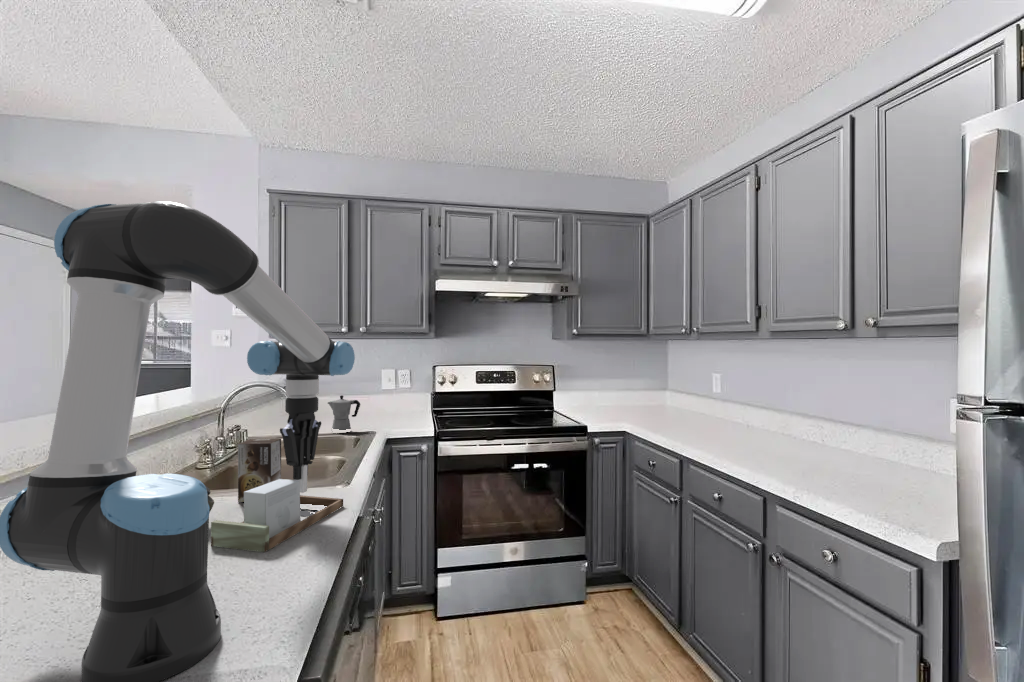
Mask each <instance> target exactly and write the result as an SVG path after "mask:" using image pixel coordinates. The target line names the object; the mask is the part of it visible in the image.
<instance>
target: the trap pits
mask: <svg viewBox="0 0 1024 682" xmlns="http://www.w3.org/2000/svg"><path fill="white" fill-rule="evenodd" d="M300 509H301V508H300ZM308 511H309V510H307V511H300V517H306V516H311V515H313V513H311V514H310V512H308ZM312 512H313V511H312ZM316 512H318V511H315V513H316Z"/></svg>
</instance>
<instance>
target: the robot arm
mask: <svg viewBox="0 0 1024 682" xmlns="http://www.w3.org/2000/svg"><path fill="white" fill-rule="evenodd" d="M53 239H54V240H53V247H54V250H55V251H54V252H55V254H56V257H57V258H59V259H60V260H61V263H60V264H61V265H62V266H63V268H65V270H66V271H67V277H66V283H67V284H68V285H69V286H70V287H71V289H73V290H74V291H75V292H76V294H77V300H76V307H75V312H74V318H73V323H72V328H71V334H70V339H69V343H68V351H67V355H66V360H65V366H64V370H63V376H62V382H61V386H60V392H59V397H58V398H59V399H58V401H57V402H58V403H57V409H56V413H55V414H56V415H55V420H54V425H53V429H52V430H53V431H52V436H51V439H50V440H51V441H50V447H49V452H48V457H47V459H46V460H45V461H44V462H43V463H42V464H40V465H39V466H38V467H36V468H34V469H33V470H31V471H30V474H29V477H28V483H27V487H25V488H23V489H22V490H20V491H18V493H17V494H15V496H16V497H15V498H13V499H12V500H9V501H8V502H7V504H5V506H4V508H3V510H2V512H1V514H0V549H1V551H2V552H3V553H4V555H6V557H8V558H9V559H10V560H12V561H13V562H15V563H17V564H19V565H24V566H28V567H30V568H32V569H35V570H39V571H51V572H52V571H57V572H58V571H59V572H66V573H67V572H68V573H77V574H87V575H88V574H89V575H97V576H100V577H101V578H100V579H101V580H100V582H101V583H100V585H101V586H100V591H101V592H100V610H99V614H98V617H97V620H96V622H95V625H94V627H93V631H92V634H91V637H90V639H89V642H88V645H87V646H86V649H85V651H84V653H83V655H82V658H81V681H82V682H161V681H164V680H167V679H169V678H171V677H173V676H175V675H179V674H180V673H181V672H184V671H186V670H187V669H189V668H191V667H192V666H194V665H196V664H197V663H198V662H200V661H201V660H202V659H204V658H205V657H206V656H207V655H208V654H210V653H211V652H212V651H213V650H214V648H215V647H216V646H217V645H218V643H219V641H220V639H221V634H222V618H221V614H220V611H218V609H217V605H216V602H215V599H214V596H213V594H212V592H211V589H210V587H209V584H208V564H209V563H208V560H209V559H208V558H209V557H208V556H209V532H210V530H209V528H210V526H209V525H210V513H211V511H210V512H209V509H210V508H209V504H208V495H207V489H206V487H205V486H206V485H205V484H204V483H203V482H202V481H201V480H200V479H198V478H196V477H194V476H189V475H185V474H179V473H163V474H157V473H148V474H147V473H146V474H140V475H139V474H138V475H137V471H138V468H137V467H136V466H135V465H134V464H133V463H132V462H131V461H130V460H128V458H127V454H128V448H129V441H130V434H131V429H132V423H133V417H134V411H135V405H136V398H137V393H138V387H139V386H138V385H139V380H140V379H139V378H140V373H141V368H142V360H143V354H144V347H145V342H146V337H147V336H146V335H147V328H148V322H149V317H150V311H151V306H152V305H153V304H155V303H156V302H158V301H160V300H161V299H163V298H164V297H165V291H166V286H167V280H172V279H173V280H174V279H178V280H185V281H189V282H192V283H195V284H198V285H199V286H201V287H202V288H203V289H205V290H206V291H207V292H208V293H210V294H212V295H215V296H223V297H224V298H226V299H227V300H228V301H229V302H230V303H232V304H233V305H234V306H235V307H237V309H239V311H241V312H242V313H244V315H246V316H248V318H250V319H251V320H252V321H253V322H254V323H256V324H257V325H258V326H259V327H260V328H262V329H263V331H265V332H266V333H268V334H269V335H270V337H272V338H273V339H275V341H273V340H265V341H258V342H255V343H254V344H252V346H250V348H249V350H248V352H247V355H246V363H247V366H248V368H249V369H250V370H251V372H253V373H255V374H256V375H261V376H273V375H284V376H285V395H286V396H288V397H286V398H285V403H284V404H285V406H284V408H285V409H284V410H285V412H286V413H287V414H288V419H287V421H286V422H287V424H286V425H285V427H279V428H280V429H279V433H280V435H281V436H282V443H283V448H284V449H283V450H284V454H285V461H286V465H287V466H290V467H292V468H293V469H292V472H293V473H292V480H300V494H303V493H306V492H308V475H309V465H312V464H313V461H314V459H315V456H316V452H317V451H316V450H317V444H318V440H319V439H318V438H319V431H320V429H321V426H322V421H320V420H319V421H318V420H317V419H316V414H315V413H316V412H318V411H319V397H318V396H317V395H319V394H320V392H319V391H320V388H319V387H320V382H319V381H320V380H319V379H320V377H319V376H330V377H334V376H345V375H348V374H349V373H351V371H352V369H353V367H354V365H355V364H354V363H355V358H356V357H355V356H356V355H355V350H354V348H353V347H352V345H351V344H350V343H349V342H346V341H340V340H337V341H333V340H332V339H331V338H330V336H329V335H328V334H326V332H325V331H324V330H322V329H321V327H320V326H318V324H317V323H316V322H315V321H313V319H312V318H311V317H310V316H309V315H308V314H307V313H306V312H305V311H304V310H303V309H302V308H301V307H300V306H299V305H298V304H297V303H296V302H295V301H294V300H293V299H292V298H291V297H290V295H288V294H287V293H286V292H285V290H283V289H282V288H281V287H280V286H279V285H278V284H277V282H275V281H274V280H273V278H272V277H270V275H268V274H267V273H266V272H265V271H264V270H263V268H261V267H260V259H259V256H258V255H257V254H256V253H255V251H254V250H252V249H251V247H250V246H249V245H248V244H246V242H244V240H242V239H241V238H240V237H239V236H237V235H236V234H235V233H234V232H233V231H232V230H230V229H229V228H228V227H226V226H225V225H223V223H220V222H219V221H217V220H216V219H214V218H212V217H211V216H210V215H207V214H205V213H204V212H202V211H201V210H198V209H195V208H194V207H191V206H188V205H186V204H182V203H178V202H173V201H163V200H162V201H152V202H141V203H140V202H139V203H124V204H123V203H122V204H116V203H102V204H97V205H92V206H90V207H89V206H88V207H84V208H80V209H77V210H75V211H73V212H71V213H69V214H68V215H67V216H65V217H64V218H63V219H62V220H61V222H60V223H59V224H58V226H57V229H56V230H55V234H54V238H53Z"/></svg>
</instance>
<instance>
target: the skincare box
mask: <svg viewBox="0 0 1024 682" xmlns="http://www.w3.org/2000/svg"><path fill="white" fill-rule="evenodd" d="M300 495H301V493H300V480H294V479H285V478H284V479H283V478H281V479H278V480H275V481H273V482H270V483H267V484H264V485H262V486H259V487H256V488H253V489H250V490H248V491H245V492H244V503H243V521H244V523H249V524H258V525H268V526H269V538H271V537H273V536H275V535H276V534H278V533H280V532H282V531H284V530H285V529H287V528H289V527H291V526H293V525H295V524H296V523H298V522H300V521H302V519H301V516H300Z"/></svg>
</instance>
